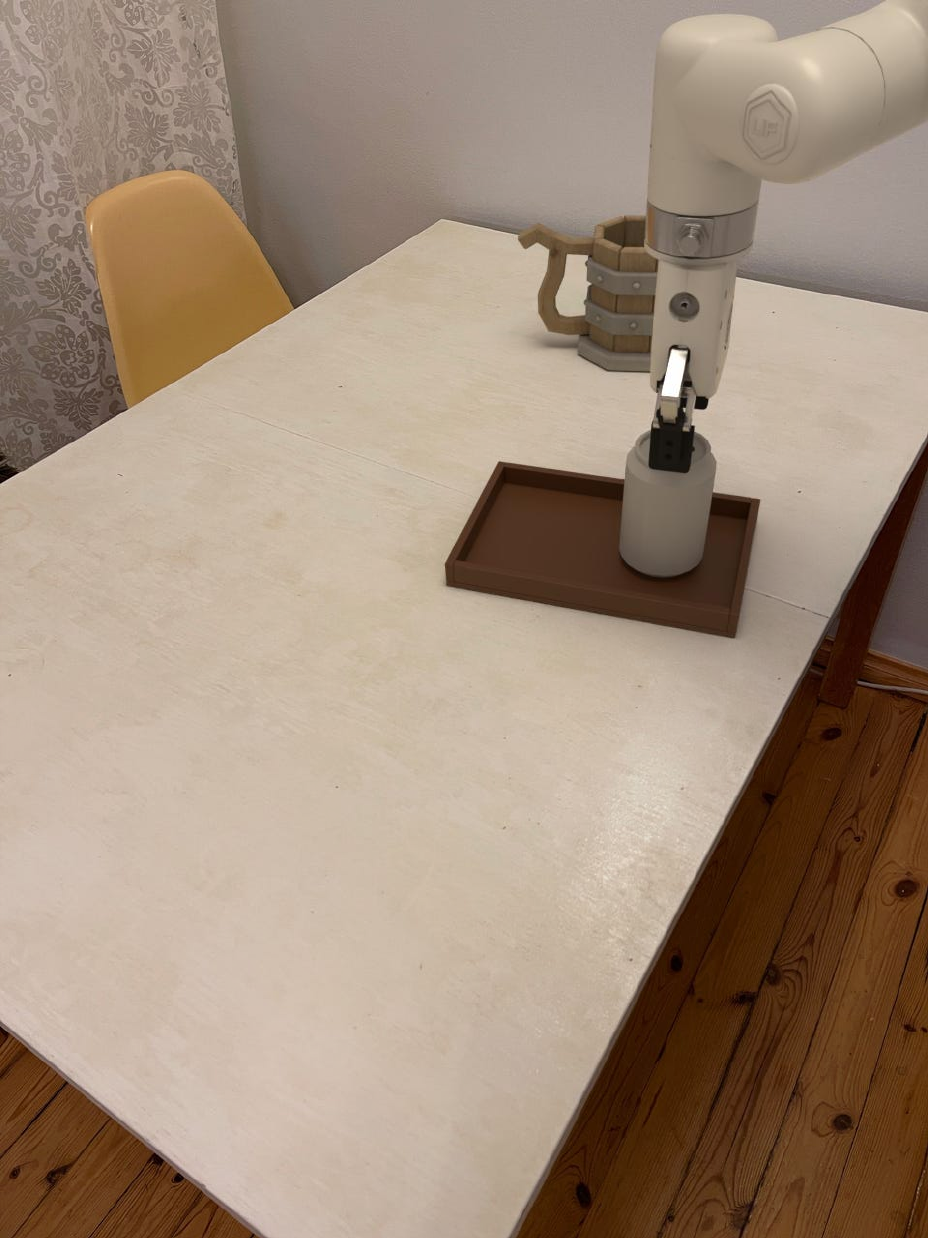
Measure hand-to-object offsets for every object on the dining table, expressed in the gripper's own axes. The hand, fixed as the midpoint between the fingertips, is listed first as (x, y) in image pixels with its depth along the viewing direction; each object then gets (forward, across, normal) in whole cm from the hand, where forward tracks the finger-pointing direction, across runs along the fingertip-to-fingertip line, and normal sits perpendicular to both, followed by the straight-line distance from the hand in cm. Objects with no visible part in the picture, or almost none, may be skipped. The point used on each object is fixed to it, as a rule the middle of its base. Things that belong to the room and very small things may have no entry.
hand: (679, 436), depth 79 cm
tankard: (+13, +39, +15) cm, 44 cm away
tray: (+13, 0, +6) cm, 15 cm away
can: (+13, 0, +1) cm, 13 cm away
